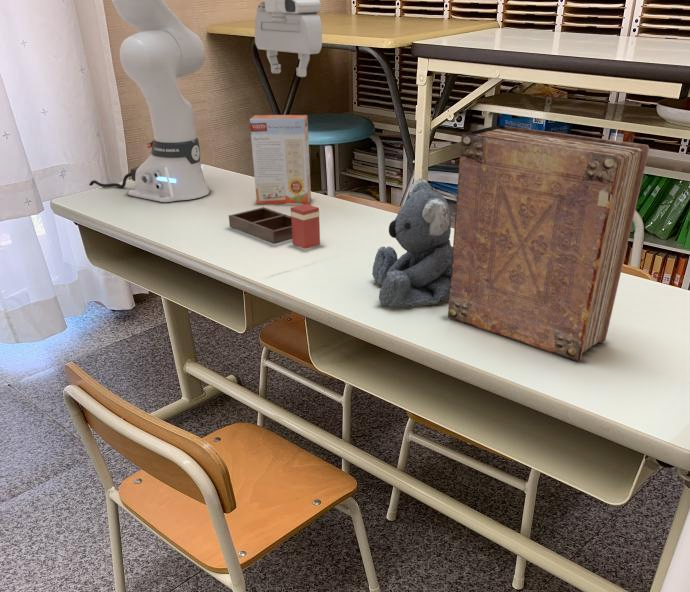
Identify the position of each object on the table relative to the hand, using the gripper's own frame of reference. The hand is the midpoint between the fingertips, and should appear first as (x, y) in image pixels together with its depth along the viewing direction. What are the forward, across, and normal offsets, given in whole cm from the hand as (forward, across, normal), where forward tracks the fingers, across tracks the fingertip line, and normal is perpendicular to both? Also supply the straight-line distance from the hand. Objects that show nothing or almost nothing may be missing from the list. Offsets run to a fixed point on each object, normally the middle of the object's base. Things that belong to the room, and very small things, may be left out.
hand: (288, 74), depth 157 cm
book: (+31, +81, -15) cm, 88 cm away
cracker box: (+31, -11, +5) cm, 34 cm away
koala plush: (+31, +58, -15) cm, 67 cm away
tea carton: (+31, +22, -14) cm, 40 cm away
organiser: (+31, +8, -14) cm, 35 cm away
